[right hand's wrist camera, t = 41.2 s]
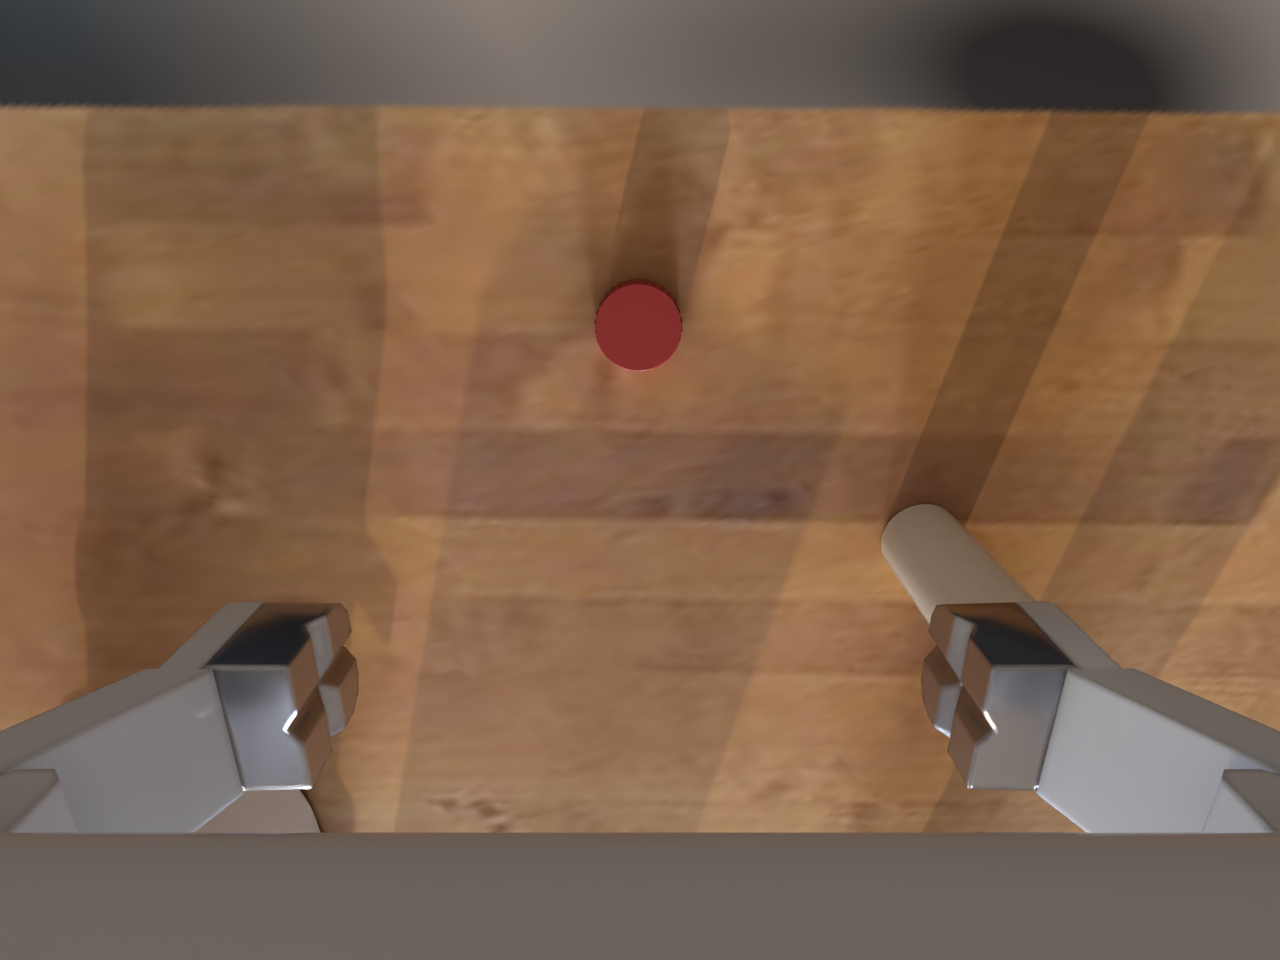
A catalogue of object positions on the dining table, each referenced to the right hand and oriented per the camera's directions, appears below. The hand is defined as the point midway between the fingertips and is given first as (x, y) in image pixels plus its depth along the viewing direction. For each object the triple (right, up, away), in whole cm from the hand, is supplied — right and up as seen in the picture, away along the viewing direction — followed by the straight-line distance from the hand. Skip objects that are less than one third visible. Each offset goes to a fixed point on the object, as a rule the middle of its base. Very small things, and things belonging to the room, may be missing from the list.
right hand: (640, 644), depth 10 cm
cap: (0, +10, +25) cm, 27 cm away
